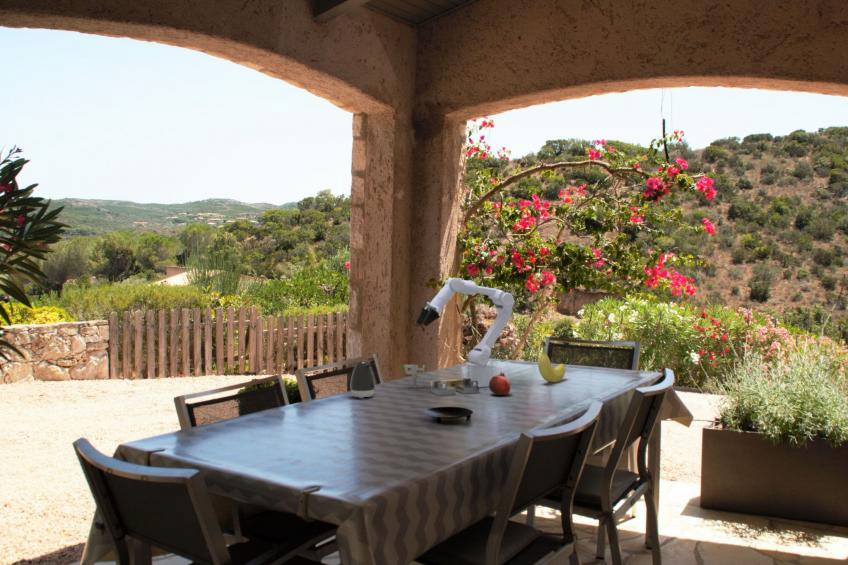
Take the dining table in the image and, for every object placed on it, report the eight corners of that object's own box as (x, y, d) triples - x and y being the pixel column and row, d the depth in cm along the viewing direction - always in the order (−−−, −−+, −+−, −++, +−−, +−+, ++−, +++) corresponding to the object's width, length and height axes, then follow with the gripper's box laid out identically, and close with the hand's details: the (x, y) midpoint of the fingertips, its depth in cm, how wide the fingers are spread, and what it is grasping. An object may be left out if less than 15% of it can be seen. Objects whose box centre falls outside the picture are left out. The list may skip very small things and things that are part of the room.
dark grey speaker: (360, 400, 285) (360, 362, 285) (345, 397, 293) (345, 360, 292) (380, 397, 292) (380, 360, 291) (365, 393, 300) (365, 357, 299)
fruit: (486, 396, 293) (485, 372, 293) (492, 392, 302) (492, 368, 302) (507, 397, 290) (507, 373, 289) (513, 393, 298) (513, 370, 298)
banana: (558, 378, 336) (558, 336, 336) (569, 379, 333) (569, 336, 332) (535, 385, 318) (535, 340, 317) (547, 386, 315) (547, 341, 314)
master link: (460, 387, 314) (460, 377, 314) (463, 389, 311) (463, 378, 311) (430, 390, 309) (430, 379, 309) (433, 391, 306) (433, 380, 306)
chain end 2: (469, 389, 309) (469, 377, 309) (479, 393, 300) (479, 381, 300) (454, 390, 307) (454, 378, 307) (464, 394, 298) (464, 382, 298)
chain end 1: (446, 390, 305) (446, 379, 305) (455, 394, 296) (455, 382, 296) (431, 392, 303) (431, 380, 303) (439, 396, 294) (439, 384, 294)
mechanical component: (426, 388, 312) (426, 365, 311) (402, 388, 312) (402, 365, 311) (426, 387, 315) (426, 364, 314) (403, 387, 315) (403, 364, 314)
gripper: (428, 293, 315) (408, 317, 312) (440, 294, 302) (420, 319, 299) (439, 304, 317) (420, 327, 314) (452, 305, 304) (432, 330, 301)
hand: (421, 324), depth 307 cm, fingers open, 7 cm apart
